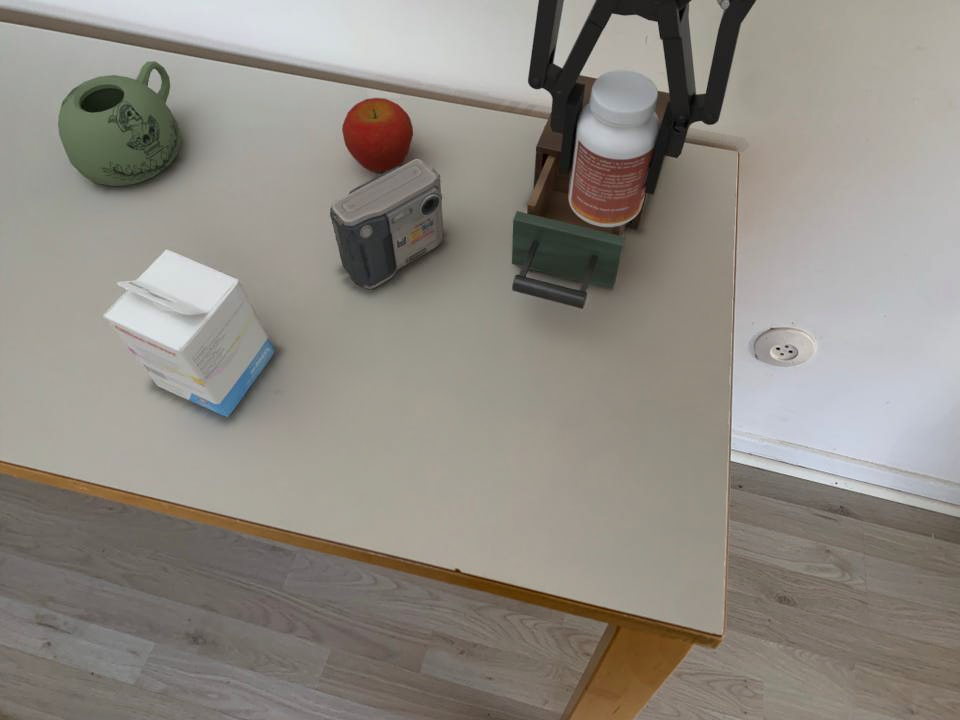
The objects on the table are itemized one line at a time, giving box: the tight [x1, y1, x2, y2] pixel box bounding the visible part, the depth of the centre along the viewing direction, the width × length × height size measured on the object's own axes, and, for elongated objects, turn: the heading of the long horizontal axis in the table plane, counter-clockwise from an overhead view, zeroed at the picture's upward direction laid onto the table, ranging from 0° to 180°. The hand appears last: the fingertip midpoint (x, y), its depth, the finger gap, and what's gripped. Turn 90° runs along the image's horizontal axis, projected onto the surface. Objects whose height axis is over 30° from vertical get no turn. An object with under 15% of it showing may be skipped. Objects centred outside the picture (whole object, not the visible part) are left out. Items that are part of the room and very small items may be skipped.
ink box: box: [102, 249, 276, 418], centre depth 66 cm, size 9×8×13 cm
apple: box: [341, 97, 414, 173], centre depth 84 cm, size 8×8×8 cm
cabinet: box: [533, 74, 670, 231], centre depth 81 cm, size 13×12×9 cm
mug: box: [57, 60, 182, 187], centre depth 85 cm, size 16×13×9 cm
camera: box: [329, 158, 444, 290], centre depth 75 cm, size 11×6×10 cm, turn 126°
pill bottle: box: [568, 69, 660, 227], centre depth 56 cm, size 6×6×11 cm
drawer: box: [511, 155, 627, 309], centre depth 74 cm, size 18×11×7 cm, turn 161°
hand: (609, 171), depth 58 cm, fingers closed on pill bottle, 6 cm apart
